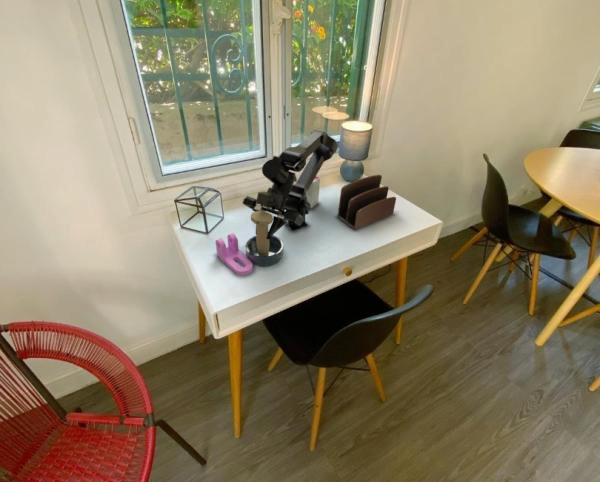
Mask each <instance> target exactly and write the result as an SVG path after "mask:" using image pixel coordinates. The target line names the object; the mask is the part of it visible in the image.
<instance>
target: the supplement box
mask: <svg viewBox="0 0 600 482" xmlns="http://www.w3.org/2000/svg"><path fill="white" fill-rule="evenodd" d="M320 185H321V177H318V176H316V177H315V179H314V181H313V182H312V184H311V186H310V188H309V190H308V191H307V198H308V201H307V202H308V203H309V204H310V210H312V209H314V208H315V207H316V206H317V205H318V204H319V197H320Z"/></svg>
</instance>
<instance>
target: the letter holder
mask: <svg viewBox="0 0 600 482" xmlns="http://www.w3.org/2000/svg"><path fill="white" fill-rule="evenodd" d="M382 178H383V177H382V174H375V175H369V176H366V177H363V178H360V179H357V180H354V181H352V182H350V183H347V184H345V185H344V186H342V188H341V189H340V194H339V195H340V196H339V202H338V210H337V218H338V219H340V220H341V221H342V222H344V223H345V224H346V225H348V226H349V227H350V228H352V229H353V230H354V231H355V230H358V229H360V228H363V227H365V226H369V225H371V224H372V223H375V222H377V221H381V220H382V219H385V218H387V217H389V216H393V215H394V212H395V207H396V206H395V205H396V203H397V197H396V196H390V197H388V194H389V190H390V187H389V186H386V185H385V186H381V183H382Z"/></svg>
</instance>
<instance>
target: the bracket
mask: <svg viewBox="0 0 600 482" xmlns="http://www.w3.org/2000/svg"><path fill="white" fill-rule="evenodd" d="M226 237H227V244H226V242H225V241H224V239H223V238H218V239H216V240H215V246H216V247H215V248H216V249H215V250H216V256H217V257H218V258H219V259H220V260H221V261H222V262H223V263H224V264H225V265H226V266H228V267H229V268H230V269H231V270H232V271H233V272H234V273H235V274H236V275H239V276H246V275H249V274H250V273H252V271H253V268H254V267H253V266H254V265H253V264H252V262H251V261H250V260H249V259H248V258H247V256H246V255H244V253H242V252H241V251H240V249H239V240H238V237H237V236H236V234H235V233H234V232H232V233H229V234H227V236H226ZM236 261H238V262H240V264H241V265H242V266H243V267H242V266H241V265H240V264H238V263H237V262H236Z"/></svg>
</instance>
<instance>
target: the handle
mask: <svg viewBox="0 0 600 482" xmlns="http://www.w3.org/2000/svg"><path fill="white" fill-rule="evenodd" d="M273 216H274V214H272V213H269V212H267V211H266V212H264V211H255V212H254V211H253V212H252V213H251V214H250V220H251V221H252V222H253V223H254V224H255V227H256V226H257V234H256V233H255V236H256V243H257V250H258V255H259V256H268V255H269V245H270V243H269V239H266V238H267V234H268V232H269V225H270V224H272V223H273Z"/></svg>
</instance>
